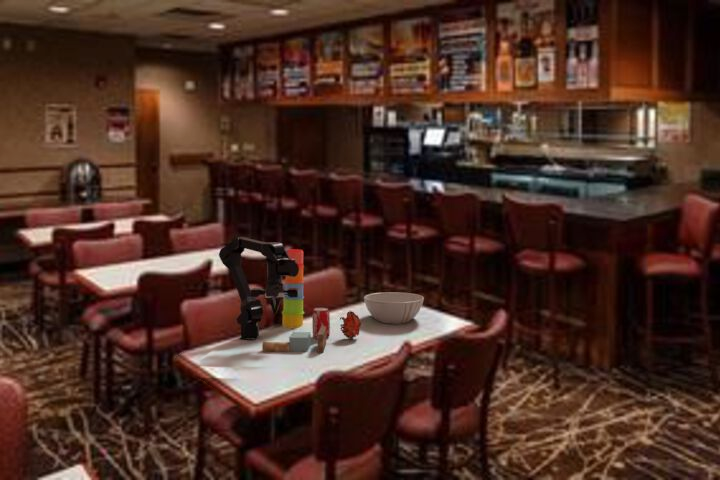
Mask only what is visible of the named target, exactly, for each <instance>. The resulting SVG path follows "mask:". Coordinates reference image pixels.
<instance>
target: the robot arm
mask: <svg viewBox="0 0 720 480" xmlns="http://www.w3.org/2000/svg"><path fill="white" fill-rule="evenodd" d="M245 249H246V250H249V251H253V252H257V253H260V254H261V255H262V256H264V257H265V258H264V259H263V261H262V263H263V264H266V269H267V270H266V272H267V273H266V275H267V277H266V279H267V282H266V285H265V287H264V288H265V289H263V287H253V288H252V289H251V288H250V286H249V283H248V281H247V278H246V275H245V273H244V271H243V268H242V265H241V264H242V258H243V257H242V254H243V253H244V252H245ZM218 257H219V259H220V261H221V263H222V265H224V266H225V267H226V268H227V269H228V270H229V272H230V275H231V278H232V280H233V284H234V285H235V288H236V290H237V293H238V296H239V299H240V301H241V303H240V307H239V308H240V314H239V315H238V316H237V317H236V321H237V324H238V325H240V337H239V339H240V340H256V339H257V338H258V337H259V336H260V325H258V323H259V322H261V321H262V317H263V313H264V309H263V308H264V306H263V304H262V301H261V300H260V298H258V297H259V296H261V295H264V296H265V297H264V299H265V300H267V301H268V303H269V304H270V306H271V310H272V312H273V315H277V313H278V311H279V307H280V304H281V302H282V301H283V300H284V298H285V295H288V296H289V297H298V296H299V289H298V288H289V289H288V290H285V284H284V283H283V277H286V276H290V277H295V276H297V274H298V272H299V267H298V264H297V263H296V262H295V259H290V258H289V256H288V254H287V251H286V249H285V247H284V245H283V243H282V242H279V241H278V242H265V241H260V240H257V239H253V238H252V239H251V238H249V237H246V236H239V237H235V238H234V239H233V240H232V241H230V242H229V243H227V244H226V245H225V246H223V247H221V248H220V250H219V252H218Z"/></svg>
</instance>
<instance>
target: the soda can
mask: <svg viewBox="0 0 720 480" xmlns="http://www.w3.org/2000/svg"><path fill="white" fill-rule="evenodd" d="M330 316H331V315H330V311H329V308H327V307H315V308H314V309H313V311H312V319H311V320H312V321H311V322H312V324H311V325H312V337H313V338H315V339H317V340H318V332H319V330H320V328H321V326H326V339H328V338H329V337H330V333H331V332H330V331H331V329H330V328H331V319H330V318H331V317H330Z"/></svg>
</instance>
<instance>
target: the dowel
mask: <svg viewBox="0 0 720 480" xmlns="http://www.w3.org/2000/svg"><path fill="white" fill-rule="evenodd" d="M261 347H262V348H261V350H262V352H264V353H265V352H266V353H268V352H269V353H270V352H271V353H272V352H275V353H276V352H277V353H279V352H283V353H284V352H286V353H287V352H288V353H289V352H290V351H289V341H263V342H262V344H261Z"/></svg>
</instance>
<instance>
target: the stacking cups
mask: <svg viewBox="0 0 720 480" xmlns="http://www.w3.org/2000/svg"><path fill="white" fill-rule="evenodd" d="M286 252H287V254H288V256H289V258H290V259H295V262H296V263H297V264H298V267H299V272H298V274H297V276H295V277H290V276H285V279H284V280H283V282H284V290H288V289H289V288H298V289H299V296H298V297H289V296H288V295H285V298H284V299H283V308H282V309H283V310H282V311H281V314H282V322H281V323H282V324H281V325H282V327H284V328H288V329H289V328H290V329H291V328H292V329H295V328H301V327H303V325H304V314H305V311H304V299H305V296H304V283H305V281H304V268H305V265H304V251H303V249H297V248H294V249H293V248H290V249H287V251H286Z"/></svg>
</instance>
